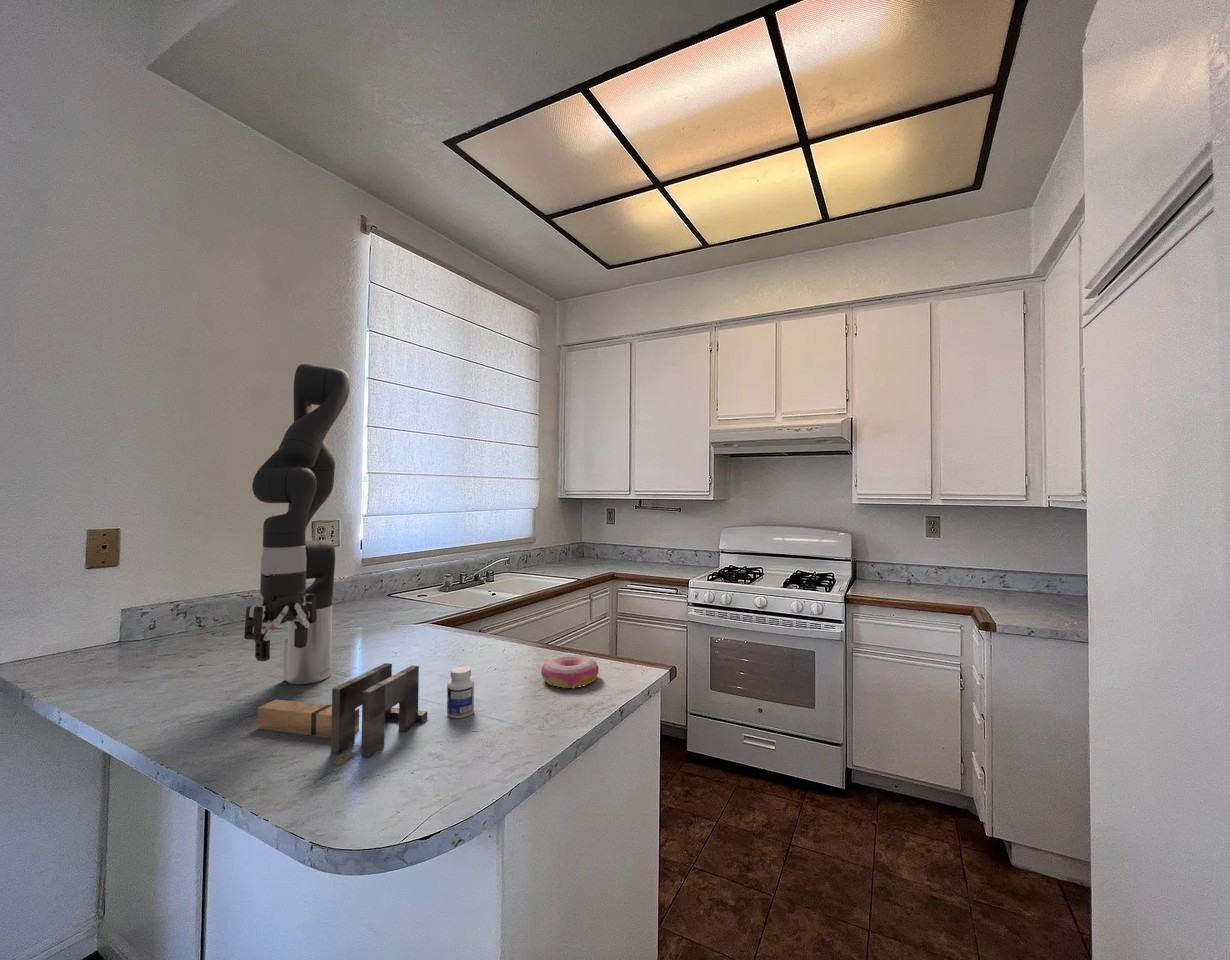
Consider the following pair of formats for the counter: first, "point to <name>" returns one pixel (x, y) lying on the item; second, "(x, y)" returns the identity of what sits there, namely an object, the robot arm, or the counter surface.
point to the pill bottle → (460, 693)
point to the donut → (569, 671)
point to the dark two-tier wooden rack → (374, 708)
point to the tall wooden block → (298, 717)
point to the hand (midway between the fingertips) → (282, 653)
